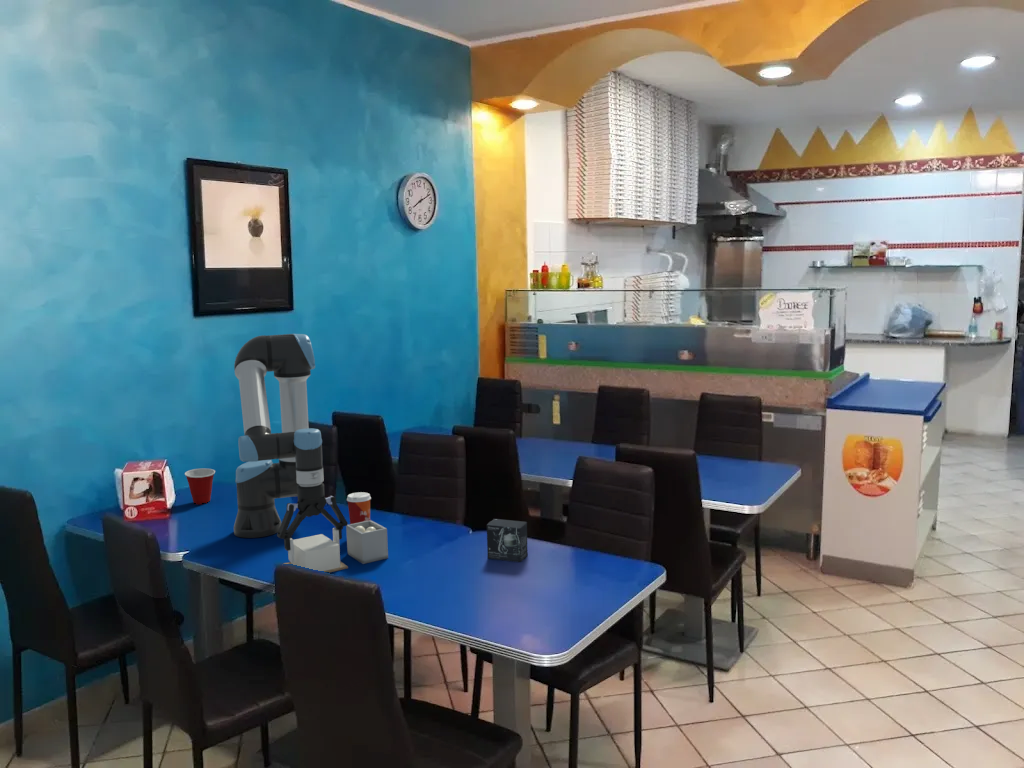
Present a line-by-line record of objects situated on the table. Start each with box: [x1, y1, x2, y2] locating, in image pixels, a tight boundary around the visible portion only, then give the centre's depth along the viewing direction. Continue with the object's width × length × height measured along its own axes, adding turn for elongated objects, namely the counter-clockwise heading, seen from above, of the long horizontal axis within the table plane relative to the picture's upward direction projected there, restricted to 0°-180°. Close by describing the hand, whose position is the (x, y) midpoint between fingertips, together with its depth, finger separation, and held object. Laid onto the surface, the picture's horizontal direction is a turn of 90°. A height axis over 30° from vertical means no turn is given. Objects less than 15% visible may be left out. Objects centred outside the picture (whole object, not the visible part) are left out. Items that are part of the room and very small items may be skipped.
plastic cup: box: [184, 468, 216, 505], centre depth 311 cm, size 11×11×12 cm
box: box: [486, 518, 529, 563], centre depth 242 cm, size 11×7×10 cm, turn 68°
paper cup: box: [346, 491, 372, 524], centre depth 264 cm, size 8×8×14 cm
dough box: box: [345, 519, 389, 565], centre depth 246 cm, size 11×8×9 cm
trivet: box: [283, 560, 349, 574], centre depth 239 cm, size 14×14×1 cm
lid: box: [289, 533, 341, 571], centre depth 238 cm, size 13×10×7 cm
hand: (314, 555), depth 238 cm, fingers open, 13 cm apart
